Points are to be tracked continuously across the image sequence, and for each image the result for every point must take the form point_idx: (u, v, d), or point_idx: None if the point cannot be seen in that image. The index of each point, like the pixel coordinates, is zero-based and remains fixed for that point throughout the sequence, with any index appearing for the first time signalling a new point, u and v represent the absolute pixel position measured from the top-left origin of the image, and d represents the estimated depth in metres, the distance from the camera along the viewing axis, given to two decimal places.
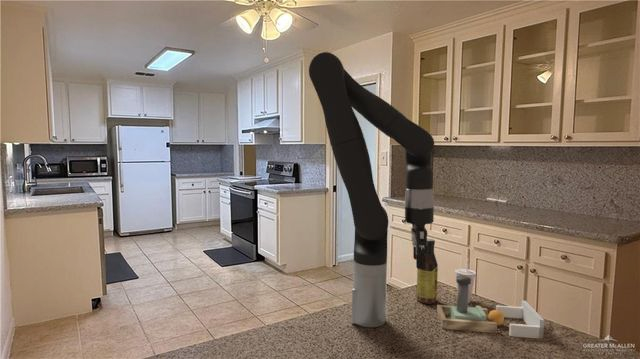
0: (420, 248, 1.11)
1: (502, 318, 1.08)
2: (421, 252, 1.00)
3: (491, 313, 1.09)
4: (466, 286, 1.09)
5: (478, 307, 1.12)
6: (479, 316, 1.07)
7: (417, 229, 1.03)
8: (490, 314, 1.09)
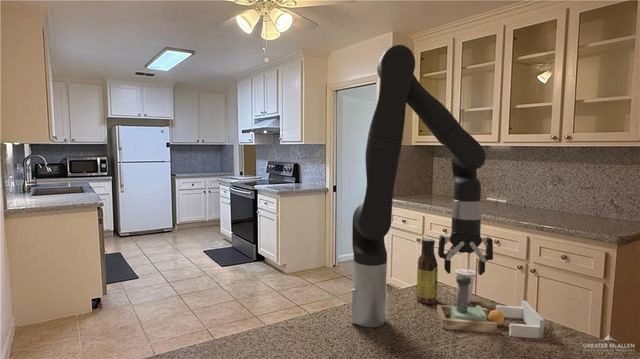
0: None
1: (502, 318, 1.08)
2: None
3: (491, 313, 1.09)
4: (466, 286, 1.09)
5: (478, 307, 1.12)
6: (479, 316, 1.07)
7: (480, 238, 1.07)
8: (490, 314, 1.09)
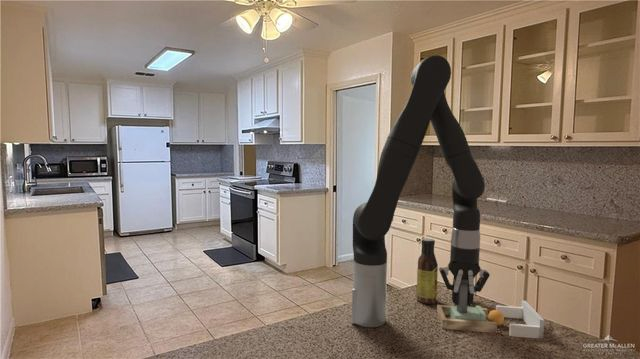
0: None
1: (502, 318, 1.08)
2: None
3: (491, 313, 1.09)
4: (466, 286, 1.09)
5: (478, 307, 1.12)
6: (479, 316, 1.07)
7: (480, 268, 1.08)
8: (490, 314, 1.09)
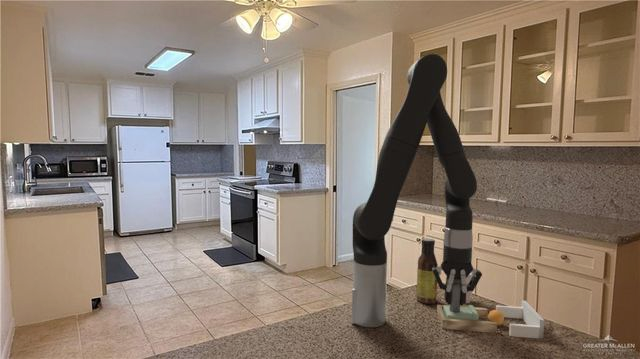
0: None
1: (502, 318, 1.08)
2: None
3: (491, 313, 1.09)
4: (458, 286, 1.09)
5: (471, 306, 1.12)
6: (471, 315, 1.08)
7: (472, 267, 1.08)
8: (490, 314, 1.09)
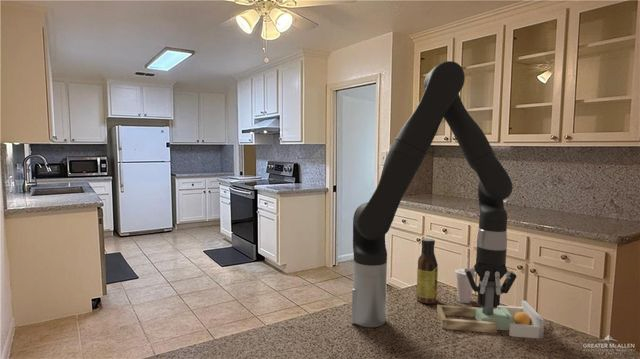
0: None
1: None
2: None
3: None
4: (492, 288, 1.08)
5: (504, 308, 1.11)
6: (506, 318, 1.06)
7: (506, 269, 1.07)
8: None
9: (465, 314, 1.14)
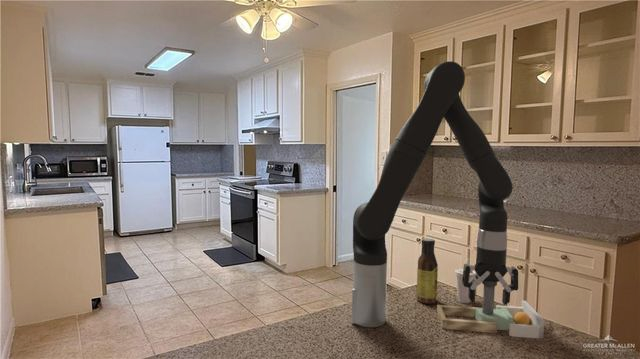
0: None
1: None
2: None
3: None
4: (492, 288, 1.08)
5: (504, 308, 1.11)
6: (506, 318, 1.06)
7: (506, 268, 1.07)
8: None
9: (465, 314, 1.14)
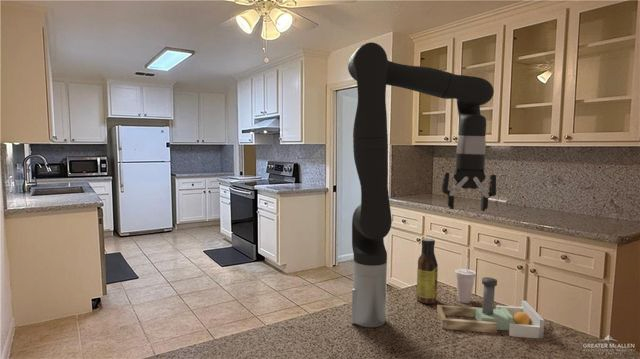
0: None
1: None
2: None
3: None
4: (492, 288, 1.08)
5: (504, 308, 1.11)
6: (506, 318, 1.06)
7: (484, 174, 1.09)
8: None
9: (465, 314, 1.14)
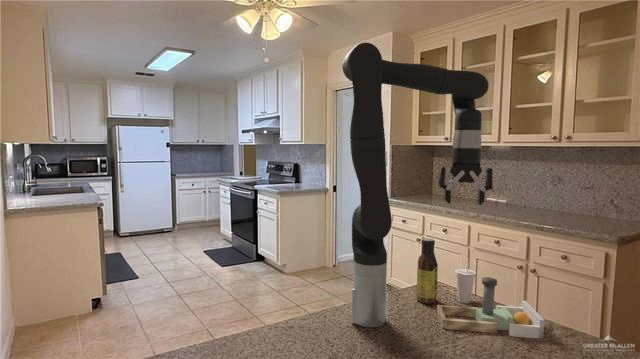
0: None
1: None
2: None
3: None
4: (492, 288, 1.08)
5: (504, 308, 1.11)
6: (506, 318, 1.06)
7: (480, 168, 1.10)
8: None
9: (465, 314, 1.14)
